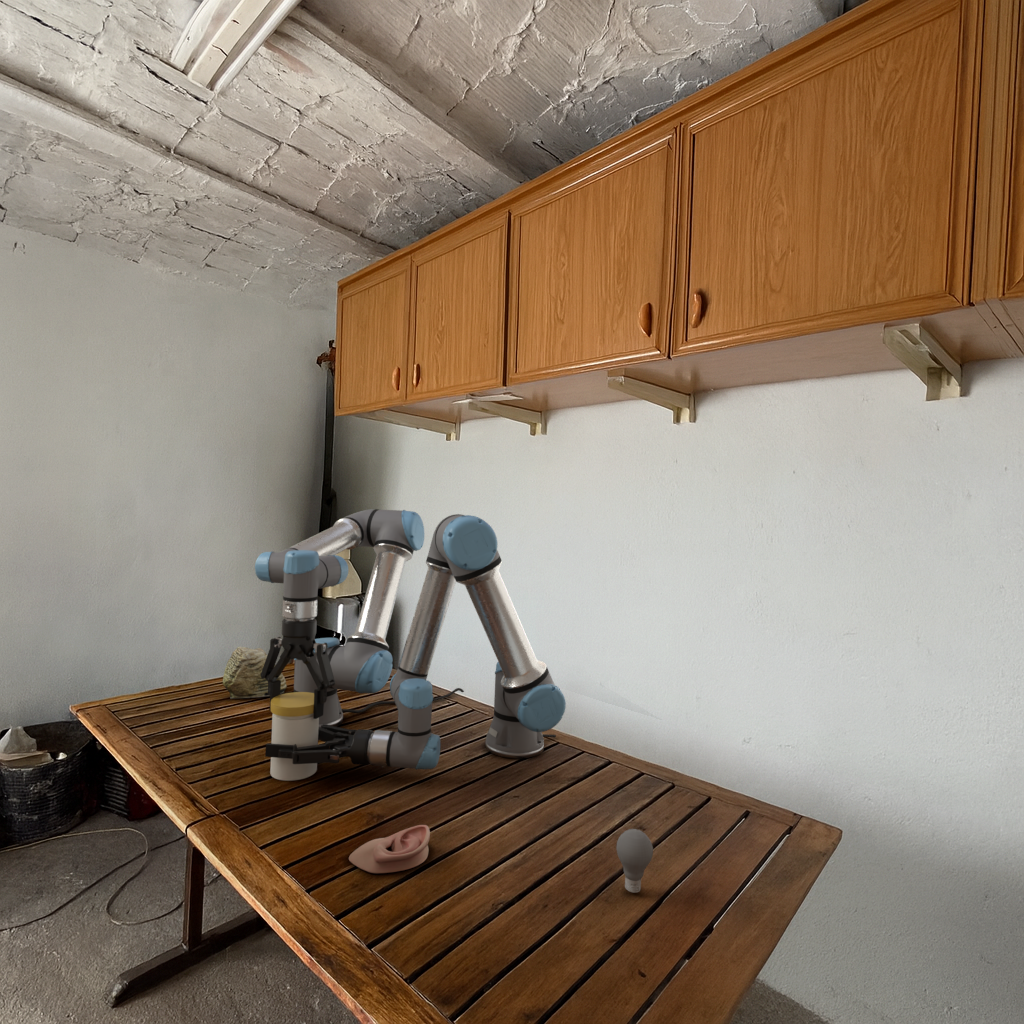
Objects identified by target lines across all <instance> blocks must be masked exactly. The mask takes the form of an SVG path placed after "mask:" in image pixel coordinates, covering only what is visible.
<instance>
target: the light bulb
mask: <svg viewBox="0 0 1024 1024" xmlns="http://www.w3.org/2000/svg"><path fill="white" fill-rule="evenodd" d="M615 849H616V854H617V857H618V859H619V861H620V863H621V865H622V867H623V873H624V874H623V875H624V876H625V878H624V888H625V890H627V891H628V892H630V893H634V894H635V893H639V892H640V891H641V889H642V887H641V886H642V879H643V877H644V875H645V871H646V868H647V867H648V866H649V864H650V863H651V861H652V859H653V855H654V847H653V843H652V841H651V838H649V836H648V835H647V834H646V833H645V832H643V831H642V830H641V829H636V828H629V829H627V830H625V831H623V832H622V833H621V834H620V835H619V837H618V839H617V841H616V847H615Z"/></svg>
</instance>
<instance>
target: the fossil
mask: <svg viewBox="0 0 1024 1024" xmlns="http://www.w3.org/2000/svg"><path fill="white" fill-rule="evenodd" d="M267 655H268V653H266V652H265V650H264V649H263V648H260V647H258V648H251V647H247V646H246V647H245V646H238V647H237V648H236V649H235V650H233V651H232V653H231V656H230V657H229V659H228V660H227V663H226V666H225V668H224V671H223V675H222V676H223V677H222V685H223V687H224V688H225V690H226V691H228V693H229V698H230V699H250V698H264V697H270V695H268V681H267V680H266V679H265V678H261V676H260V675H261V672H262V669H263V667H264V664H265V661H266V658H267ZM274 667H275V666H274ZM278 678H279V679H276V681H277V680H281V690H280V694H284V693H285V691H286V689H287V687H288V686H287V680H286V678H285V676H284V674H283V672H282V673H281V674H280V676H279V677H278Z"/></svg>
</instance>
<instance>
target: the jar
mask: <svg viewBox="0 0 1024 1024" xmlns="http://www.w3.org/2000/svg"><path fill="white" fill-rule="evenodd" d="M313 714H314V713H313ZM313 714H309V715H304V716H295V717H287V716H279V715H275V714H273V713H272V714H271V743H270V744H284V745H295V744H296V745H297V747H304V746H312V745H319V741H318V729H319V718H317V719H314V718H313ZM269 768H270V771H269V773H270V776H271V777H272V778H274V779H275V780H279V781H284V782H285V781H287V782H289V781H290V782H291V781H300V780H304V779H307V778H309V777H311V776H313V775H314V774H315V773H316V772H317V771H318V763H310V764H293V759H289V758H276V757H270V767H269Z"/></svg>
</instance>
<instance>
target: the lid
mask: <svg viewBox="0 0 1024 1024" xmlns="http://www.w3.org/2000/svg"><path fill="white" fill-rule="evenodd" d="M270 713H272V714H275V715H279V716H287V717H295V716H304V715H309V714H313V713H314V693H310V692H294V691H293V692H286V693H280V695H278V696H276V697H274V698H273V699H272V700H271V711H270Z"/></svg>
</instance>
